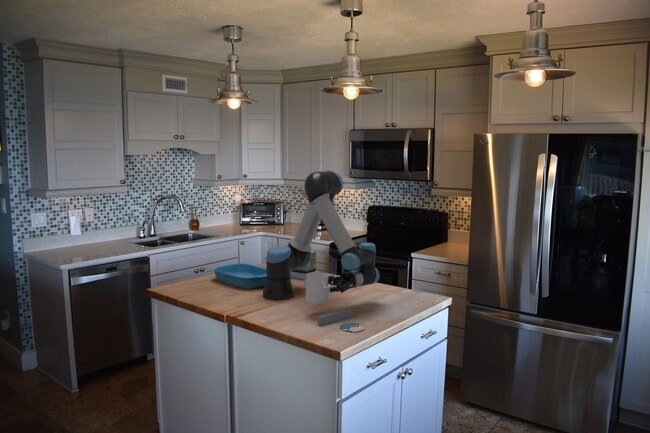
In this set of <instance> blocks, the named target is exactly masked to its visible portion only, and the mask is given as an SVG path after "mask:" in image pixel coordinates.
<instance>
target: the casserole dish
mask: <svg viewBox="0 0 650 433" xmlns="http://www.w3.org/2000/svg"><path fill="white" fill-rule="evenodd" d="M213 272H214V275H215V277H216V280H218V281H219V282H222V283H225V284H228V285H231V286H233V287H237V288H241V289H244V290H245V289H247V290H250V289H255V288H260V287H263V286H265V283H266V267H263V266H258V265H254V264H249V263H246V262H244V263H243V262H237V263H227V264H222V265H218V266H216V267H214V268H213Z"/></svg>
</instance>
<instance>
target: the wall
mask: <svg viewBox="0 0 650 433" xmlns="http://www.w3.org/2000/svg"><path fill="white" fill-rule="evenodd" d="M353 311H354V310H353V309H352V308H345V309H343V310H338V311H334V312H331V313H327V314H324V315H323V314H322V315H318V316H317V321H316V322H317V323H316V324H317V326H318V325H319V327H321V325H322V326H326V325H330V324H333V323H336V322H337V323H338V322H341V321H344V320H347V318H348V319H351V317H352V318H353ZM340 320H341V321H340ZM332 322H333V323H332ZM329 323H330V324H329ZM325 324H326V325H325Z"/></svg>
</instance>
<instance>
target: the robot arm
mask: <svg viewBox="0 0 650 433" xmlns="http://www.w3.org/2000/svg"><path fill="white" fill-rule="evenodd" d="M343 187H344V181H343V178H342V176H341V175H340V174H339V172H337V171H333V170H326V171H323V170H321V171H314V172H311V173H310V174H309V175H307V177H306V178H305V180H304V185H303V188H304V192H305V196H306V198H307V200H308V201H309V202H308V205H307V207H306V209H305V212H304V214H303V216H302V219H301V220H300V224H299V226H298V229H297V230H296V233H295V235H294V237H293V238H290V239H289V242H288V244H287V246H286V245H278V246H273V247H270V248H268V249H267V251H266V257H265V260H266V262H265V263H266V267H265V268H266V283H265V286H264V287H263V290H262V297H263V298H264V299H268V300H275V301H276V300H277V301H278V300H279V301H280V300H288V299H289V300H290V299H292V298H293V297H294V296H295V289H294V286H293V284H292V280H291V271H293V270H296V269H300V268H303V267H304V266H306V265H307V264H308V263H309V262H310V260H311V251H312V246H311V243H312V241H313V240H314V236H315V235H316V232H317V230H318V228H319V225H320V223H321V221H322V222H323V224H324V226H325V229H326V230H327V232H328V233H329V236H330V237H331V239H332V241H333V242H334V245H335V246H336V248H337V250H338V252H339V253H340V255H341V260H340V262H341V263H340V264H341V266H342V268H343V269H344V270H346V271H345V272H342V273H341V274H340V275H339V276H334V275H328V287H323V294H327V293H328V294H333V293H335V292H337V293H341V294H343V293H344V292H346V291H348V290H350V289H356V288H359V287H363V286H364V287H365V286H368V285H373V284H375V283H377V282H379V280H380V277H381V275H380V272H379V270H378V269H377V267H376V253H377V250H376V247H377V246H376V245H375V243H373V242H361V243H359V245H358V246H359V248H358V247H357V246H356V244H355V243H354V241H353V239H352V237H351V235H350V233H349V231H348V230H347V228H346V226H345V224H344V223H343V221H342V219H341V218H340V215H339V213H338V212H337V210H336V208H335V207H334V206H335V205H333V201H334V199H335V197H336V195H339V194H340V193H341V192H342V190H343ZM303 287H304V288H306V280H303Z"/></svg>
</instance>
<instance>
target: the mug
mask: <svg viewBox="0 0 650 433" xmlns="http://www.w3.org/2000/svg"><path fill="white" fill-rule="evenodd" d="M328 276H329V274H328V273H326V272H323V271H322V272H319V271H316V272H311V273H307V274H306V287H305V301H306V303H309V304H311V305H323V304H326V303H327V302H328V296H329V295H328V294H329V293H327V294H323V287H328V286H329V284H328Z"/></svg>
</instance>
